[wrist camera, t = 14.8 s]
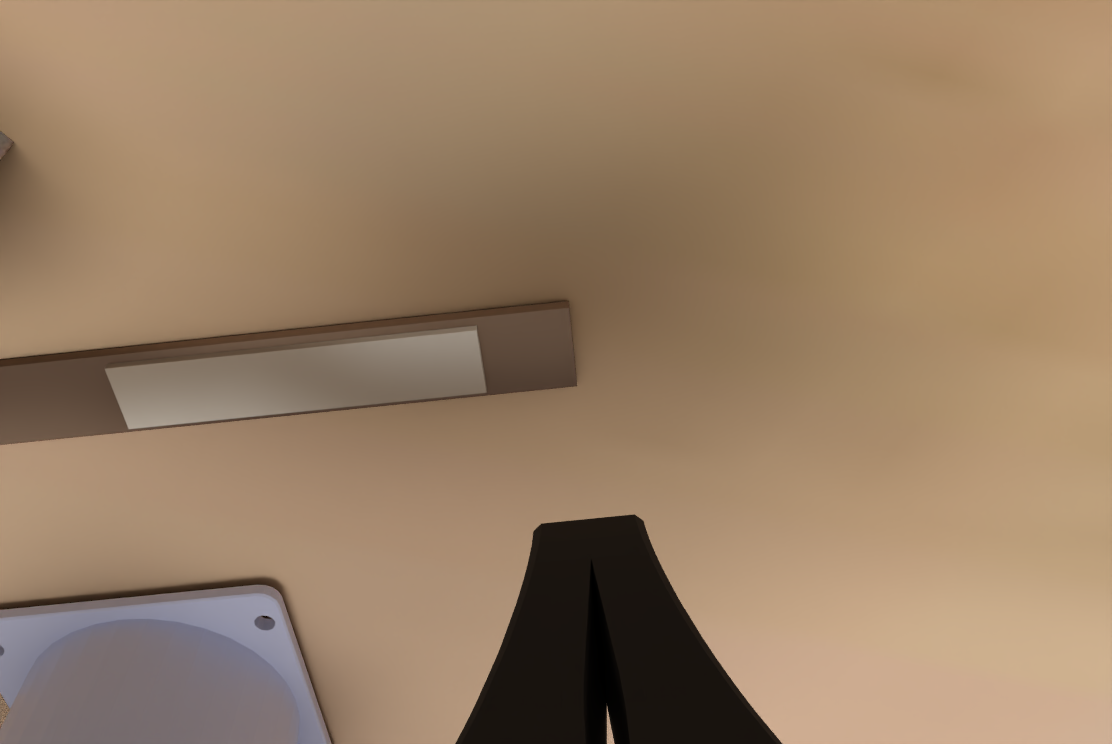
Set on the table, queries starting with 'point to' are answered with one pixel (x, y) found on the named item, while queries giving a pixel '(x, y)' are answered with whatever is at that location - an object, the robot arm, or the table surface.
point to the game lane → (287, 373)
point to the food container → (4, 144)
